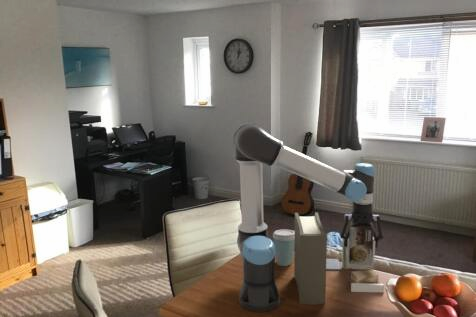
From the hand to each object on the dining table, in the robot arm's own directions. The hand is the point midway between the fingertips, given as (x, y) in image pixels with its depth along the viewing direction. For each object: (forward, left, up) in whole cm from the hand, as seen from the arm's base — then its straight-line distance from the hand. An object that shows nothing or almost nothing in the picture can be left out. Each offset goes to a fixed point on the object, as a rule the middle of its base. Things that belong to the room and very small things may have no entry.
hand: (360, 254), depth 169 cm
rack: (0, -3, -9) cm, 10 cm away
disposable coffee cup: (-31, +10, -9) cm, 34 cm away
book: (-22, -13, -10) cm, 27 cm away
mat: (-12, +9, -9) cm, 17 cm away
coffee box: (0, 0, -3) cm, 3 cm away
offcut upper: (0, -9, -7) cm, 11 cm away
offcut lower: (0, -9, -10) cm, 13 cm away
